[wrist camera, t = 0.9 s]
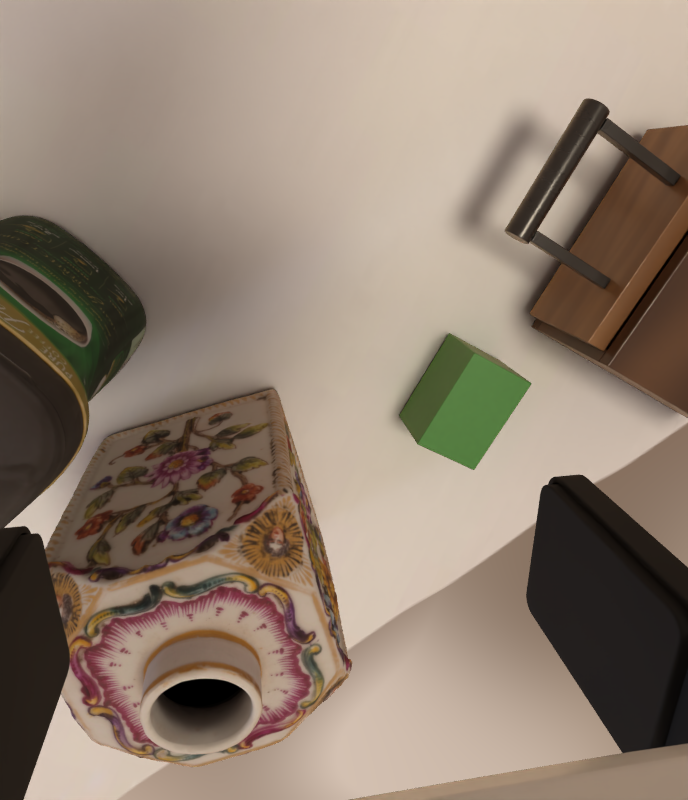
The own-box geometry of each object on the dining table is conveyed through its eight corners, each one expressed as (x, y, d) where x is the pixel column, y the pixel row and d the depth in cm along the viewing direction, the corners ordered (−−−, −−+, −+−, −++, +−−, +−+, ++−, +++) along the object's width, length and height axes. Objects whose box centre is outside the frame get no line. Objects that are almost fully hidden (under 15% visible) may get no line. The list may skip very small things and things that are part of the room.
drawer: (445, 264, 34) (490, 283, 28) (563, 62, 31) (643, 34, 25) (671, 398, 41) (748, 438, 34) (787, 241, 38) (896, 254, 31)
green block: (449, 332, 37) (474, 352, 33) (501, 361, 38) (532, 383, 34) (398, 415, 39) (417, 444, 34) (450, 440, 40) (474, 470, 36)
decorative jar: (279, 382, 36) (309, 554, 20) (323, 527, 41) (378, 765, 24) (95, 434, 36) (-32, 658, 19) (161, 576, 40) (105, 856, 24)
